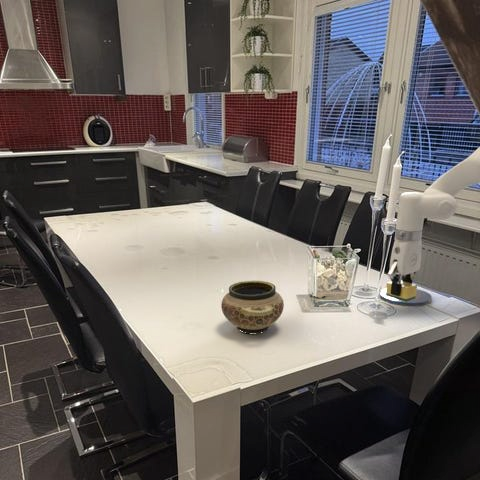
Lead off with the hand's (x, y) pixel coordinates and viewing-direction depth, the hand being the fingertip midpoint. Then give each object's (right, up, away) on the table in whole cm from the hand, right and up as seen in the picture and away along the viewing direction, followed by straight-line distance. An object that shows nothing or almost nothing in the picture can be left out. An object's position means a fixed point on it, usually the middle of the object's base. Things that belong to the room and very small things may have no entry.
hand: (400, 292), depth 146 cm
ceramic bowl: (-47, -11, -8) cm, 49 cm away
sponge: (0, -1, +1) cm, 2 cm away
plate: (+7, -1, +16) cm, 17 cm away
